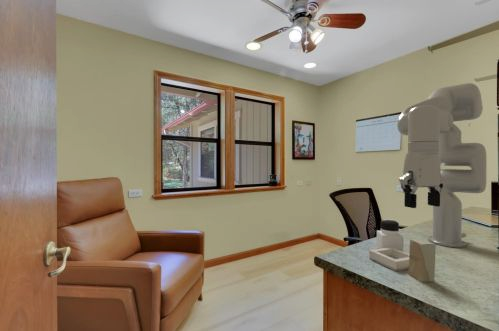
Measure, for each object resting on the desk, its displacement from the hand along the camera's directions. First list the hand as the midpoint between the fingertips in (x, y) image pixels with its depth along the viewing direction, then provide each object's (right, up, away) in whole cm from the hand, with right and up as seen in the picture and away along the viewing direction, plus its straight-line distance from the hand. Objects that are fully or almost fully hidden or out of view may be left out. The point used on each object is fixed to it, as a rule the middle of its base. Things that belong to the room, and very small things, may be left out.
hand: (422, 206), depth 71 cm
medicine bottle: (+3, -21, +22) cm, 31 cm away
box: (0, -22, 0) cm, 22 cm away
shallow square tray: (-2, -21, +11) cm, 24 cm away
